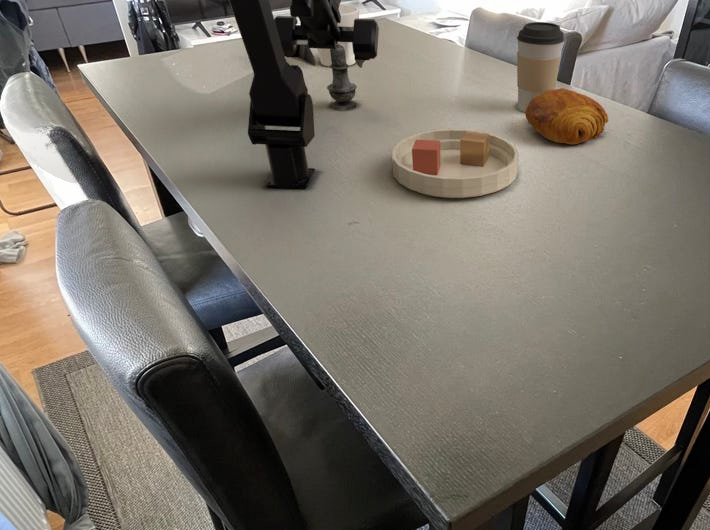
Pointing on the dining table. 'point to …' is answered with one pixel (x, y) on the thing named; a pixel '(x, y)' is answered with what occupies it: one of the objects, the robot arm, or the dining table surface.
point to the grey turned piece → (341, 81)
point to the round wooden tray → (456, 166)
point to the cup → (347, 20)
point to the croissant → (566, 116)
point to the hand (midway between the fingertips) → (337, 64)
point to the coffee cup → (537, 60)
